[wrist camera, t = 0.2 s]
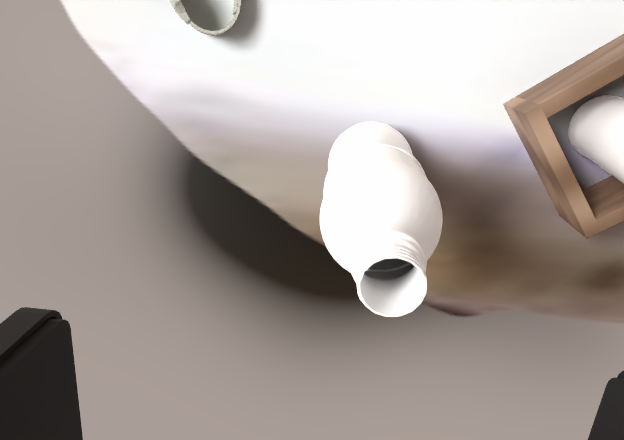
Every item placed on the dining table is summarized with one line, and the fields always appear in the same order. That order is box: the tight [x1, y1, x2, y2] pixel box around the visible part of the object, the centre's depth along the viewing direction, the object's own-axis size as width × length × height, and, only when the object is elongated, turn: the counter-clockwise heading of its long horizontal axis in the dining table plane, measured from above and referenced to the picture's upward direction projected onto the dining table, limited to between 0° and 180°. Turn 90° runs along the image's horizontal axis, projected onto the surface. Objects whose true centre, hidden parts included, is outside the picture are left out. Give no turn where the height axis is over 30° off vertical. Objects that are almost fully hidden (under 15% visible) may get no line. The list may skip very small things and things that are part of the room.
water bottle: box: [320, 122, 443, 317], centre depth 33 cm, size 7×7×25 cm
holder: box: [503, 34, 624, 239], centre depth 39 cm, size 12×12×6 cm
